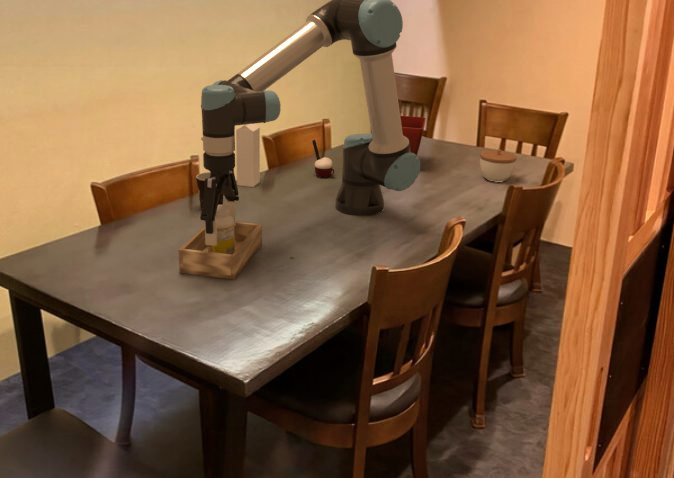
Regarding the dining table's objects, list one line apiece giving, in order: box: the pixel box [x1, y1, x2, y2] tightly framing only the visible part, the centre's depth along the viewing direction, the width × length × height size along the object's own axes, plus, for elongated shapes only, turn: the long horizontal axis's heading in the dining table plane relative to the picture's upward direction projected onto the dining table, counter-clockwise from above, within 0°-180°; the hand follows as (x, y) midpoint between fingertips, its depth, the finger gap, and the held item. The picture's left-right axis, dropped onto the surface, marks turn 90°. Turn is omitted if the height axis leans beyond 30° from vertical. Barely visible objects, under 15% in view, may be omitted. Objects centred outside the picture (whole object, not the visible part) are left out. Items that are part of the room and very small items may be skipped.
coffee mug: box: [195, 171, 225, 210], centre depth 212 cm, size 12×9×10 cm
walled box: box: [178, 221, 263, 281], centre depth 177 cm, size 14×22×6 cm, turn 169°
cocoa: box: [312, 139, 335, 179], centre depth 246 cm, size 10×6×12 cm, turn 32°
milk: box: [235, 123, 261, 188], centre depth 232 cm, size 6×6×22 cm
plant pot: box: [369, 115, 427, 156], centre depth 262 cm, size 19×19×17 cm
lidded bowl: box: [479, 149, 517, 181], centre depth 251 cm, size 13×13×11 cm
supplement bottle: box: [208, 204, 235, 254], centre depth 175 cm, size 7×7×13 cm
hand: (221, 234), depth 175 cm, fingers open, 13 cm apart
